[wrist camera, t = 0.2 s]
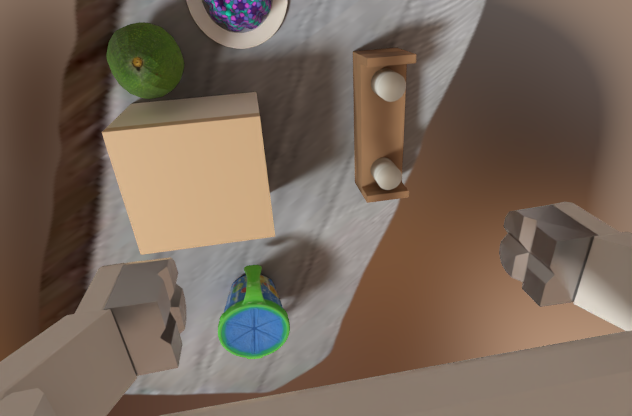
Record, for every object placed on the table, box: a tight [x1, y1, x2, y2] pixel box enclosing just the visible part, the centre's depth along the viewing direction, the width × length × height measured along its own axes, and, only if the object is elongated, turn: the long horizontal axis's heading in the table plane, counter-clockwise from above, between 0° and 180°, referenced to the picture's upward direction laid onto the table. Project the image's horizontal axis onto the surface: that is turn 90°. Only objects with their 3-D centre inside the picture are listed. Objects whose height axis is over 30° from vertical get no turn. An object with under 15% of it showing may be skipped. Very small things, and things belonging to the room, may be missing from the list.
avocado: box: [107, 23, 184, 99], centre depth 45 cm, size 8×8×12 cm
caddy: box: [353, 48, 416, 203], centre depth 55 cm, size 6×19×8 cm, turn 3°
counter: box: [102, 92, 275, 255], centre depth 51 cm, size 15×16×12 cm
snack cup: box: [218, 265, 290, 359], centre depth 64 cm, size 16×10×10 cm
